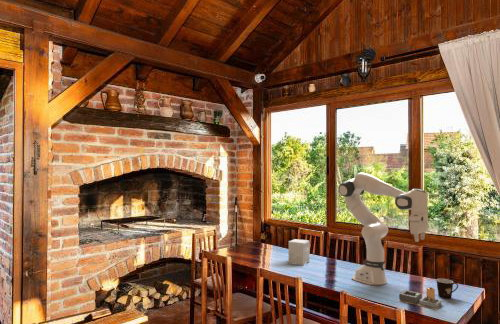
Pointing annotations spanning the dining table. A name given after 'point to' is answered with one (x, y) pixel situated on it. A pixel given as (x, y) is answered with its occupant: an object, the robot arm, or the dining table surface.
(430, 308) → the bench board
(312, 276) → the dining table surface
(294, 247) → the supplement box
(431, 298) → the cell
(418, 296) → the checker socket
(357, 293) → the dining table surface
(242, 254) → the dining table surface
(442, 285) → the coffee mug
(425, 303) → the tray
